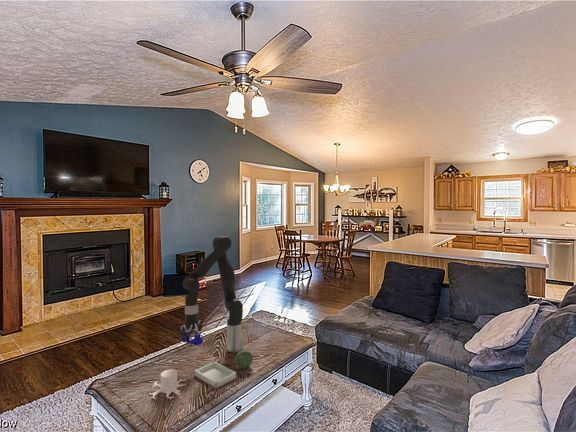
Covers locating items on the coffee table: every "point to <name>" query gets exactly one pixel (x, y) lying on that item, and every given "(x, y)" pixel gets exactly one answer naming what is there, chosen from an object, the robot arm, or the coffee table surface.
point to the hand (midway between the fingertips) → (192, 340)
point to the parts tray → (215, 374)
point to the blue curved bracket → (196, 340)
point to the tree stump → (168, 383)
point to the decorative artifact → (243, 359)
